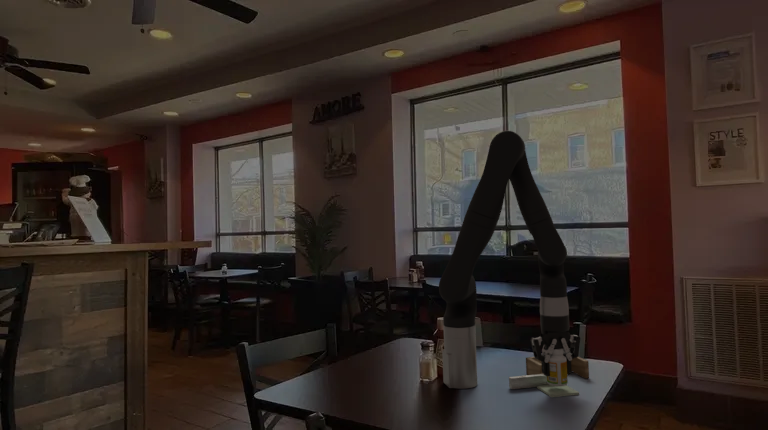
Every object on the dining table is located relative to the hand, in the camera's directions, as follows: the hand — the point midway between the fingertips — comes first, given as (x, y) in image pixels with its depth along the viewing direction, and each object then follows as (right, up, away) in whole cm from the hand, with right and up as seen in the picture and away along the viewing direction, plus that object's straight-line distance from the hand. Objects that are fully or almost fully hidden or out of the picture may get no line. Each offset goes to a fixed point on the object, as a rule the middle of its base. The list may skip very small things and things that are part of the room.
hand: (556, 374), depth 141 cm
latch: (-5, -5, +4) cm, 8 cm away
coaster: (0, -5, 0) cm, 5 cm away
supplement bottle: (0, -3, 0) cm, 3 cm away
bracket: (+5, -5, +13) cm, 15 cm away
